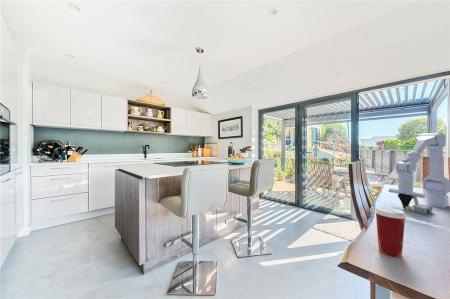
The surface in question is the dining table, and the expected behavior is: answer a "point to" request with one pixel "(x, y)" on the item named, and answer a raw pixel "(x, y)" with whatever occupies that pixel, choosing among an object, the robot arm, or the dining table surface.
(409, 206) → the zinc pin
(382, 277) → the dining table surface
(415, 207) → the hitch block
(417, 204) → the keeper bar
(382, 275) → the dining table surface
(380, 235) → the paper cup
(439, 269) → the dining table surface
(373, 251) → the dining table surface
